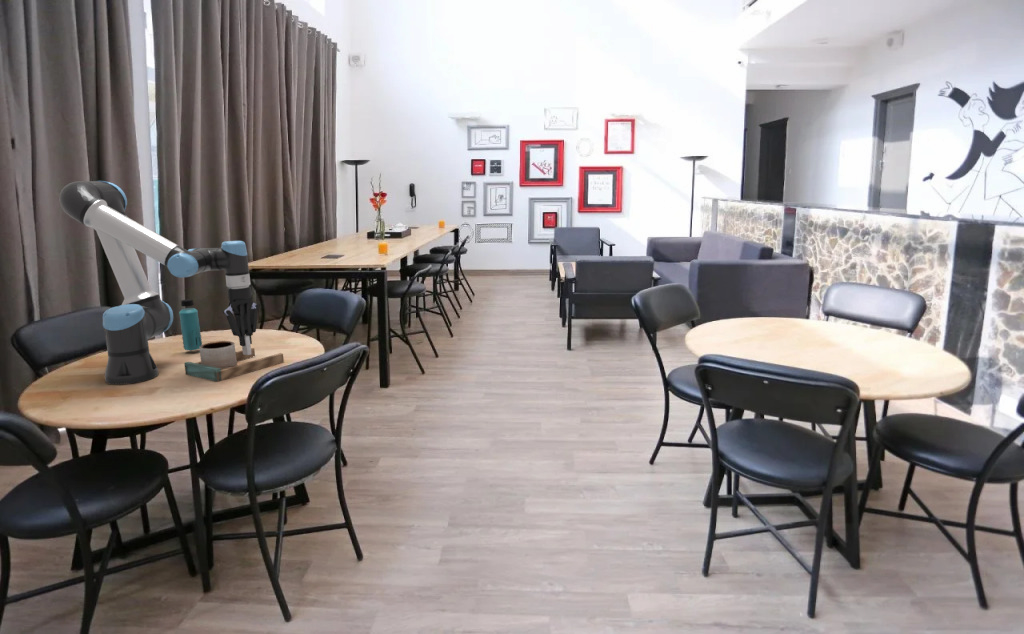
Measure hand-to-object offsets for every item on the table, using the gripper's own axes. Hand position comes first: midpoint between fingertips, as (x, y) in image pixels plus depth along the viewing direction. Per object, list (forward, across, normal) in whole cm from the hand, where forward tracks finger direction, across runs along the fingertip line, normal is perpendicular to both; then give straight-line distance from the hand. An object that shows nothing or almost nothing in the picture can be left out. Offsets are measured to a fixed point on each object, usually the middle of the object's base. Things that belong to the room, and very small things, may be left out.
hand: (247, 354), depth 227 cm
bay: (+4, -4, +1) cm, 6 cm away
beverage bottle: (+4, +1, +34) cm, 34 cm away
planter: (+4, -10, 0) cm, 11 cm away
